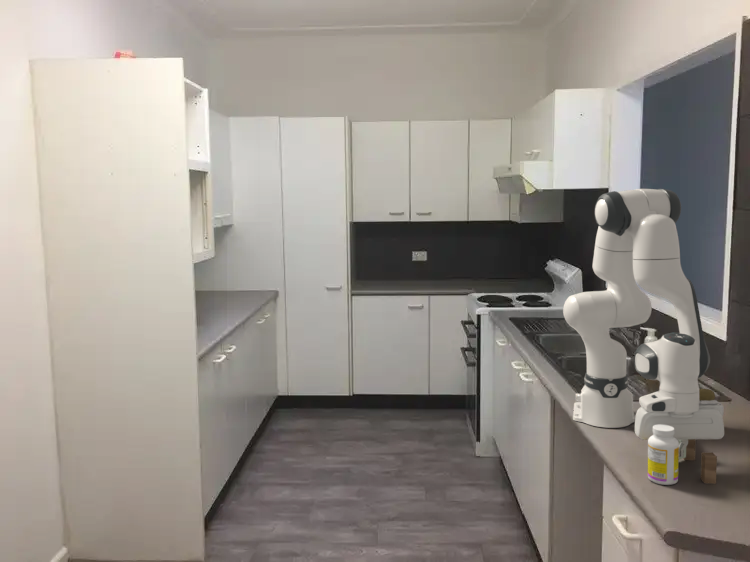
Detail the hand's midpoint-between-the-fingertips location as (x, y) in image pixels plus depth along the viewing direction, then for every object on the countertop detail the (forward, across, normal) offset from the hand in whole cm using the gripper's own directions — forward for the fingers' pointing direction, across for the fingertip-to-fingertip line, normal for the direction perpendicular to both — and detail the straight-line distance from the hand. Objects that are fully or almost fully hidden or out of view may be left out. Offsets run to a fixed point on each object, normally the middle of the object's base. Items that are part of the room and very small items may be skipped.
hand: (678, 456), depth 162 cm
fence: (+3, -4, -6) cm, 8 cm away
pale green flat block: (+2, +1, -2) cm, 3 cm away
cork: (+2, -17, -29) cm, 34 cm away
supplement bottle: (+3, +6, +7) cm, 10 cm away
